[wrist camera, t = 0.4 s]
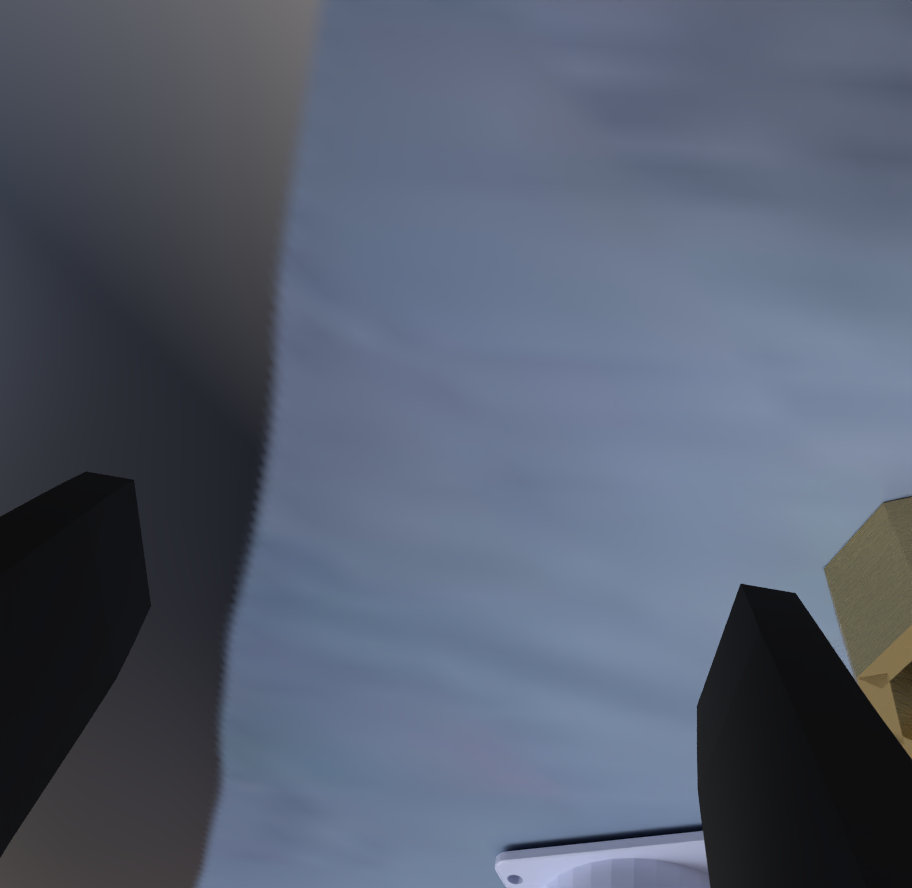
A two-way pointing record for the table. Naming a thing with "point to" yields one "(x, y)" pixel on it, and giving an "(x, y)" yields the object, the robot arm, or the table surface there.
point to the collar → (879, 612)
